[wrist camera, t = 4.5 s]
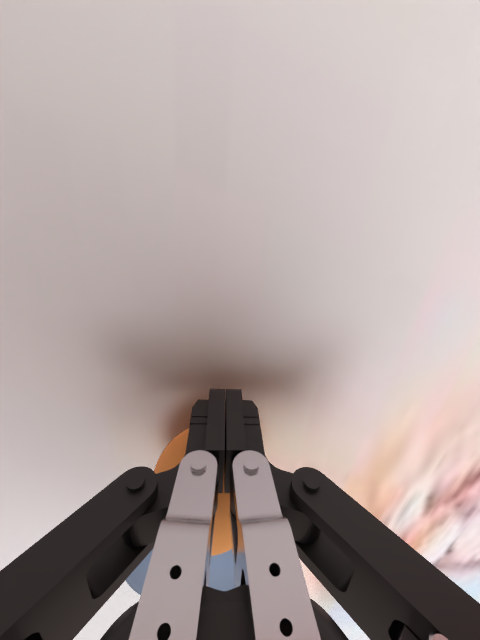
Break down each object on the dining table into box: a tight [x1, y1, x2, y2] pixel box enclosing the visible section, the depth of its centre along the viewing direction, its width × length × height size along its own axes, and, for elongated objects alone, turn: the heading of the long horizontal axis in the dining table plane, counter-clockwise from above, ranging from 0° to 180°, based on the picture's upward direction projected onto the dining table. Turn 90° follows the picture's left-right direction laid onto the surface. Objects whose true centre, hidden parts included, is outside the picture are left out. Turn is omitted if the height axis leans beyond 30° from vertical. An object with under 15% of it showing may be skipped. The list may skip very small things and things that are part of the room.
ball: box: [154, 428, 232, 556], centre depth 14 cm, size 6×6×6 cm
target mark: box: [126, 549, 234, 595], centre depth 22 cm, size 12×12×1 cm
